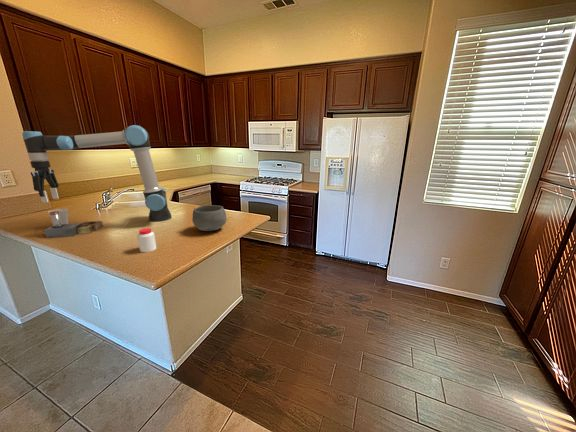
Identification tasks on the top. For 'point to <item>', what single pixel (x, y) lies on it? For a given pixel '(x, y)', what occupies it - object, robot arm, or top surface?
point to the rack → (93, 225)
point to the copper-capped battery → (56, 219)
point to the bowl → (209, 217)
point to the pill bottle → (146, 240)
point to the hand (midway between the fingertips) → (50, 200)
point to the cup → (62, 215)
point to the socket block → (62, 230)
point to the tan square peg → (84, 230)
